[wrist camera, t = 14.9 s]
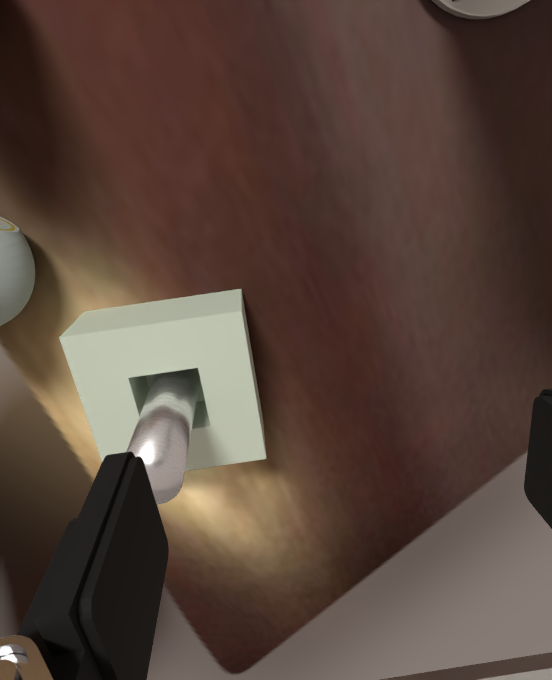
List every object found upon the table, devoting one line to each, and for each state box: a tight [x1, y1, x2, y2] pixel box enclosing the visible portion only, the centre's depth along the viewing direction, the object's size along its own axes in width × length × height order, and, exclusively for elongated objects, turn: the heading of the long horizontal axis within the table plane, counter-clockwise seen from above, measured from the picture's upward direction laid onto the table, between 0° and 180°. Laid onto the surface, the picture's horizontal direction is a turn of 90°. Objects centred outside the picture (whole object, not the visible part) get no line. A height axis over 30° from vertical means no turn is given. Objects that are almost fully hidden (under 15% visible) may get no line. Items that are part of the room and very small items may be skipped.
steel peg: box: [126, 368, 200, 505], centre depth 35 cm, size 4×4×14 cm
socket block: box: [59, 289, 266, 471], centre depth 40 cm, size 14×14×6 cm
